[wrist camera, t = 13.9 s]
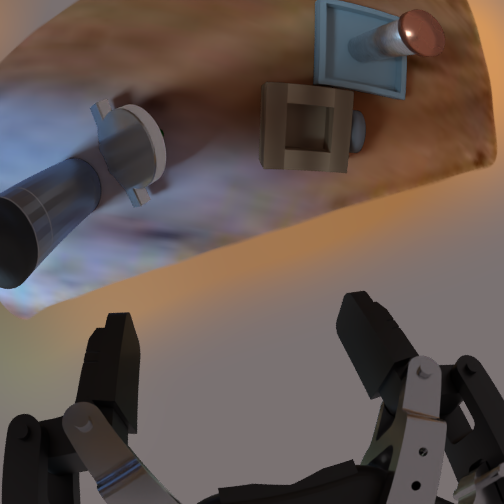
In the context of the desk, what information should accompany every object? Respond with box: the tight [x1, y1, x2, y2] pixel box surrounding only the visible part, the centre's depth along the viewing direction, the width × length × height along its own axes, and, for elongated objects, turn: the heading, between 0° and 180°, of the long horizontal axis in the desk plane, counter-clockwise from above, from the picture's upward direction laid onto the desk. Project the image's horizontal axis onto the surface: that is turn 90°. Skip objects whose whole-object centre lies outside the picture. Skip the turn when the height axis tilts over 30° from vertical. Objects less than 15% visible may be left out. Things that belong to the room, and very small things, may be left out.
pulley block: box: [259, 82, 366, 173], centre depth 33 cm, size 12×10×6 cm
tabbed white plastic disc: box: [90, 99, 166, 207], centre depth 32 cm, size 15×8×11 cm
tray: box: [313, 0, 407, 100], centre depth 30 cm, size 13×13×2 cm
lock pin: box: [348, 9, 445, 63], centre depth 24 cm, size 5×5×15 cm
